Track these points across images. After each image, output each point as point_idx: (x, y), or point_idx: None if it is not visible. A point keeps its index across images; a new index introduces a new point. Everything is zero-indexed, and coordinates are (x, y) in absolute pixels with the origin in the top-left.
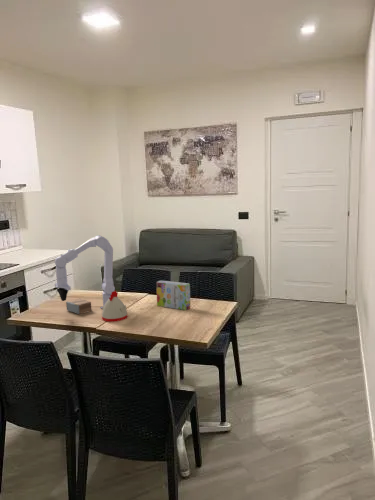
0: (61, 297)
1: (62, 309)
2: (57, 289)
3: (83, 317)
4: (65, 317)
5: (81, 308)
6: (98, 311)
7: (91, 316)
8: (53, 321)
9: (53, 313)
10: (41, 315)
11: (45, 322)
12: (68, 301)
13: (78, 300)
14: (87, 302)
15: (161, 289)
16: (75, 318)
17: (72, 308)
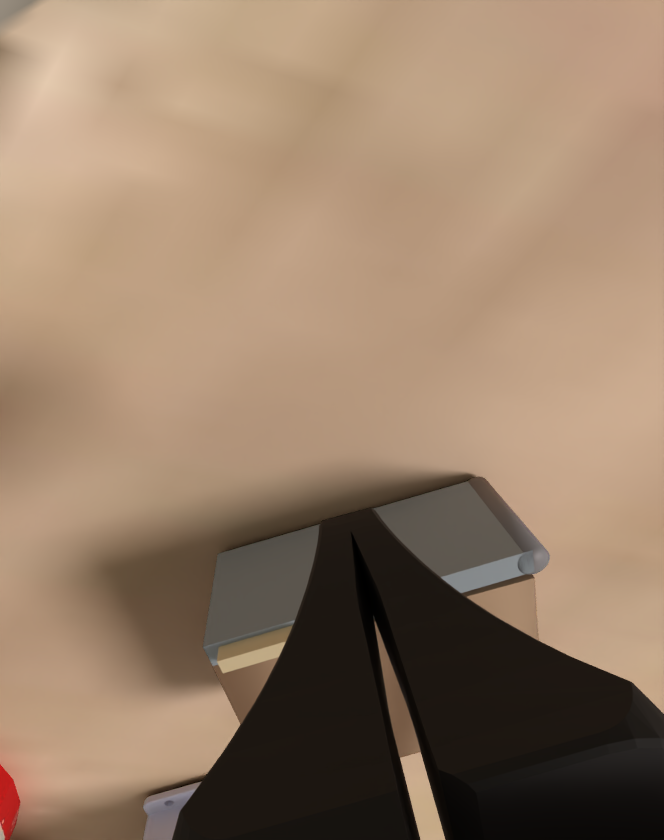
0: (339, 565)
1: (565, 439)
2: (588, 775)
3: (45, 574)
4: (176, 391)
5: None
6: (195, 723)
7: (39, 647)
8: (58, 176)
9: (488, 293)
10: (533, 87)
11: (68, 19)
12: (534, 580)
13: None
14: None
15: None
16: (51, 490)
17: None
